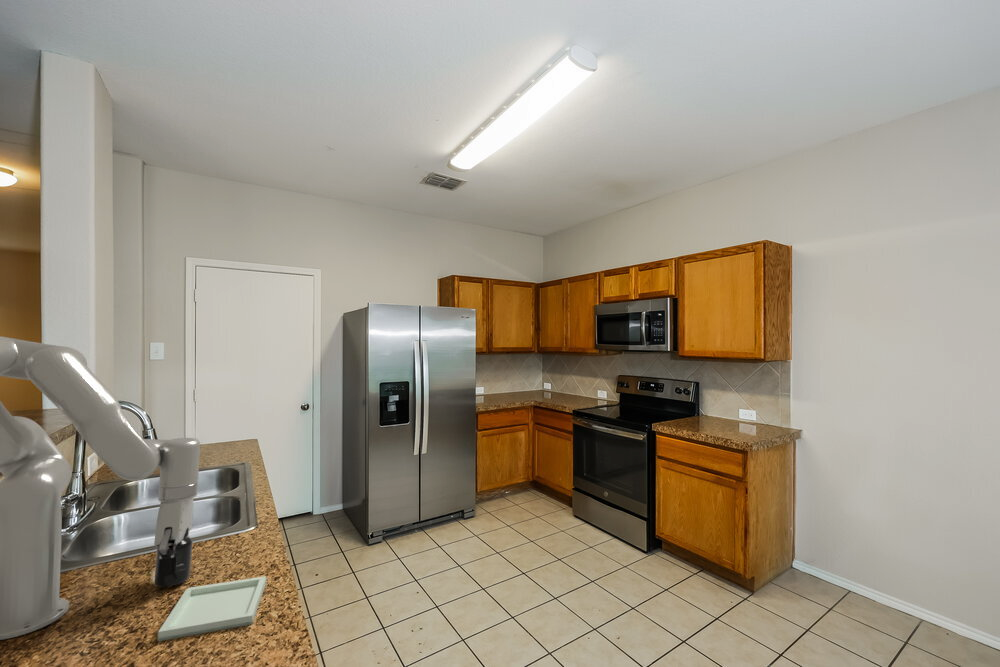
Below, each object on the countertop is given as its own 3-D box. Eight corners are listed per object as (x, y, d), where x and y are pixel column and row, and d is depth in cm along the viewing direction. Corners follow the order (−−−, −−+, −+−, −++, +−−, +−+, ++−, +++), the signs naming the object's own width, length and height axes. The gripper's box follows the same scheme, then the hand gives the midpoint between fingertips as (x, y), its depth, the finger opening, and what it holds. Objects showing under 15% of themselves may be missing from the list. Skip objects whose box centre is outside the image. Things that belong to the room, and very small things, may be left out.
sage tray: (157, 641, 83) (158, 632, 83) (186, 596, 98) (187, 588, 98) (252, 624, 88) (252, 615, 89) (266, 583, 104) (266, 576, 104)
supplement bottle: (170, 589, 99) (174, 536, 99) (146, 585, 100) (150, 532, 101) (197, 575, 106) (200, 524, 106) (174, 571, 107) (177, 521, 108)
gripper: (173, 481, 111) (168, 552, 110) (143, 504, 95) (137, 588, 94) (207, 479, 113) (203, 549, 113) (184, 501, 97) (178, 583, 96)
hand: (173, 566), depth 103 cm, fingers closed on supplement bottle, 6 cm apart
